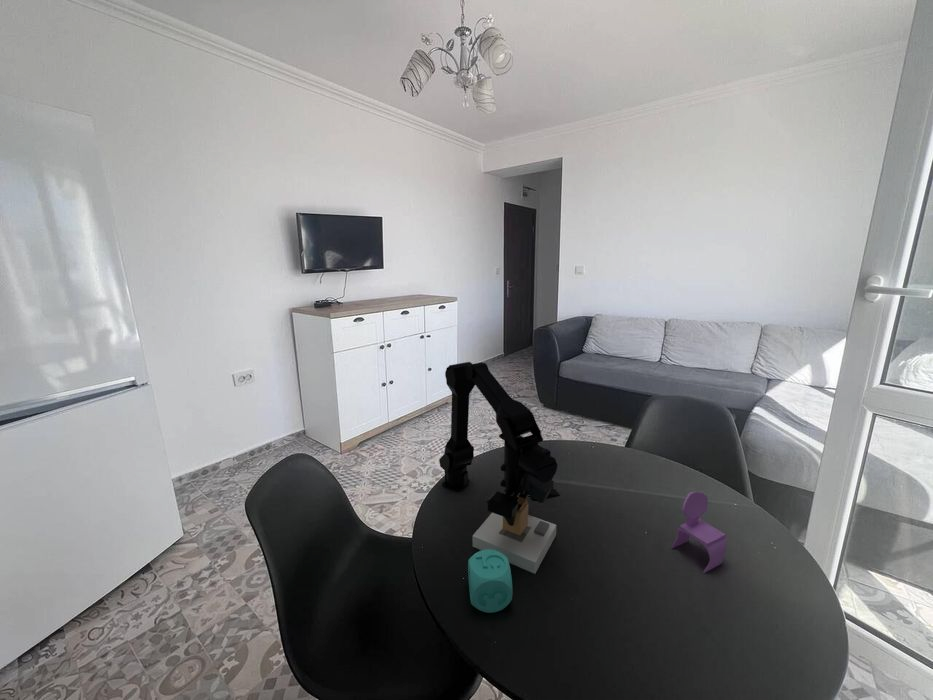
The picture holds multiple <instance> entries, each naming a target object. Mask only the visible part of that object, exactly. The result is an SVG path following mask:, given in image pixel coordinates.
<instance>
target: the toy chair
mask: <svg viewBox="0 0 933 700" xmlns="http://www.w3.org/2000/svg"><path fill="white" fill-rule="evenodd" d="M708 502H709V499H708V496H707V494H705V493H704V492H700V491H691V492H688V493H687V495H686V496H685V499H684V502H683V504H682V509H681V511H682V513H683V515H685V517H686V521H685V523H682V524H680V525H679V528H677V531H676V538H675V539H674V542H673V543H672V545H670V549H672V550H673V549H674V548H677V547H679V546H681V545H683V544H684V543H687V542H689V541H690V537H692V538H693V539H694V540H696V541H697V542H698V543H699V544H701V545H702V546H703V547H705V549H706V551H707V553H708V556H709V561H708V564H707V566H706V567H705V568H704V570H703V571H702V573H704V574H705V573H708V572H709V571H711V570H712V569H715V568H717V567H718V566H720V565H721V564H723V560H724V555H725V552H726V548H727V539H726V533H724V532H723V531H720V530H719V529H717V528H715V527H714V526H712V525H711V524H709V523H707V522H706V521H704V520H703V519H702V518H700V517H701V516H703V515H704V514H705V513H706V512H707V509H708V508H707V507H708Z"/></svg>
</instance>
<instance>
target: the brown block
mask: <svg viewBox="0 0 933 700" xmlns="http://www.w3.org/2000/svg"><path fill="white" fill-rule="evenodd" d="M518 498H519V500H518V504H521V505H522V506H521V508H520V509H519V510H518V511H517V512H516V514H515V520H514V524H513V526H510V525H509V524H508V523H507V521H506V519H505V517H503V529H505V530H507V531H510V532H512V533H515V534H517V535H521V534H522V532H523V531H524V529H525V528H526V526H527V525H528V515H529V501H528V499H524V498H521V497H519V496H518Z"/></svg>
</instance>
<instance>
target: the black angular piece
mask: <svg viewBox="0 0 933 700" xmlns="http://www.w3.org/2000/svg"><path fill="white" fill-rule="evenodd" d="M553 488H554V487H553ZM553 488H552V489H551V491H550V493H549V495H548V497H547V498H546V500H549V499H552V498H558V497H561V494H560V493H559V492H558V491H557V490H556V489H555V488H554V489H553ZM528 495H529V494H528ZM528 497H530V498H531V500H532V501H536V502H538V501H537V500H536V499H535V498H533V497H532V496H527V498H528ZM530 498H528V499H529V500H530ZM531 500H530V501H531ZM532 501H531V502H532Z"/></svg>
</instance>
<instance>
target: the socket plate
mask: <svg viewBox="0 0 933 700" xmlns="http://www.w3.org/2000/svg"><path fill="white" fill-rule="evenodd" d="M557 526H558V525H557V524H555V523H552V522H550V521H546V520H544V519H541V518H538V517H536V516H533V515H530V514H528V525H527V526H526V528H525V529H524V531H523V532H522V534H521V535H517V534H515V533H512V532H510V531H507V530H505V529H503V516H500V515H498V514H495V513H492V512H490V514H489V516H488V517H487V518H486V519H485V521H484V522H483V523H482V524H481V525H480V527H478V529H477V530H476V531H475V532H474V533H473V535H472V548H476V549H477V550H479V551H481V550H486V549H492V550H496V551H499V552H500V553H502V554H504V555H505V556H506V557H507V558H508V561H509V564H511V565H514V566H516V567H518V568H520V569H523V570H525V571H527V572H529V573H532V574H534V575H536V573H537V572H538V570H539V567H540V566H541V563H542V562H543V560H544V558H545V557H546V554H547V553H548V551H549V549H550V547H551V546H552V543H553V542H554V539H555V538H556V537H557Z"/></svg>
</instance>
